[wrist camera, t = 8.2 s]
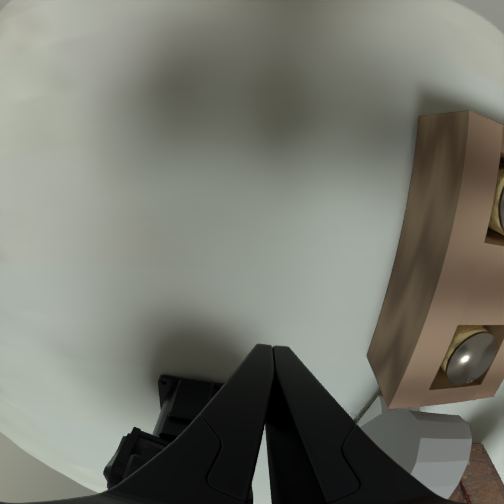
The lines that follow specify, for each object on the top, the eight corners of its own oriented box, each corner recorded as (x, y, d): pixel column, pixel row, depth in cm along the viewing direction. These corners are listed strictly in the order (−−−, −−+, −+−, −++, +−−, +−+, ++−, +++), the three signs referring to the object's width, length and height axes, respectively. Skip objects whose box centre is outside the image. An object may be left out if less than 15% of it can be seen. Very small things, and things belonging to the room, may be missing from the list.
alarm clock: (327, 500, 31) (335, 581, 19) (283, 496, 31) (284, 583, 19) (441, 376, 24) (500, 480, 12) (391, 365, 24) (447, 489, 12)
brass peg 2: (484, 221, 19) (535, 246, 14) (443, 212, 19) (494, 237, 14) (494, 168, 18) (548, 180, 12) (453, 154, 18) (508, 162, 12)
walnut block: (462, 355, 23) (493, 396, 18) (366, 356, 23) (388, 408, 18) (518, 153, 18) (571, 162, 12) (418, 116, 18) (469, 110, 12)
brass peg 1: (447, 338, 22) (481, 382, 17) (407, 338, 22) (438, 387, 17) (464, 294, 21) (505, 333, 15) (423, 291, 21) (462, 333, 15)
